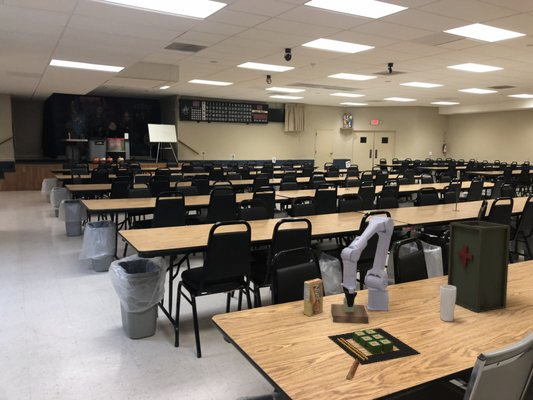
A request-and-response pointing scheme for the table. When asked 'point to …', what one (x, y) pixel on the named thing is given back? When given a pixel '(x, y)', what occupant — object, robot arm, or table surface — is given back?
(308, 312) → the candy box
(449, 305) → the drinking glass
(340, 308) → the walnut base
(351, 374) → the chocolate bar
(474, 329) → the table surface
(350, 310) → the green block
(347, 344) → the sushi
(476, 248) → the first aid box
